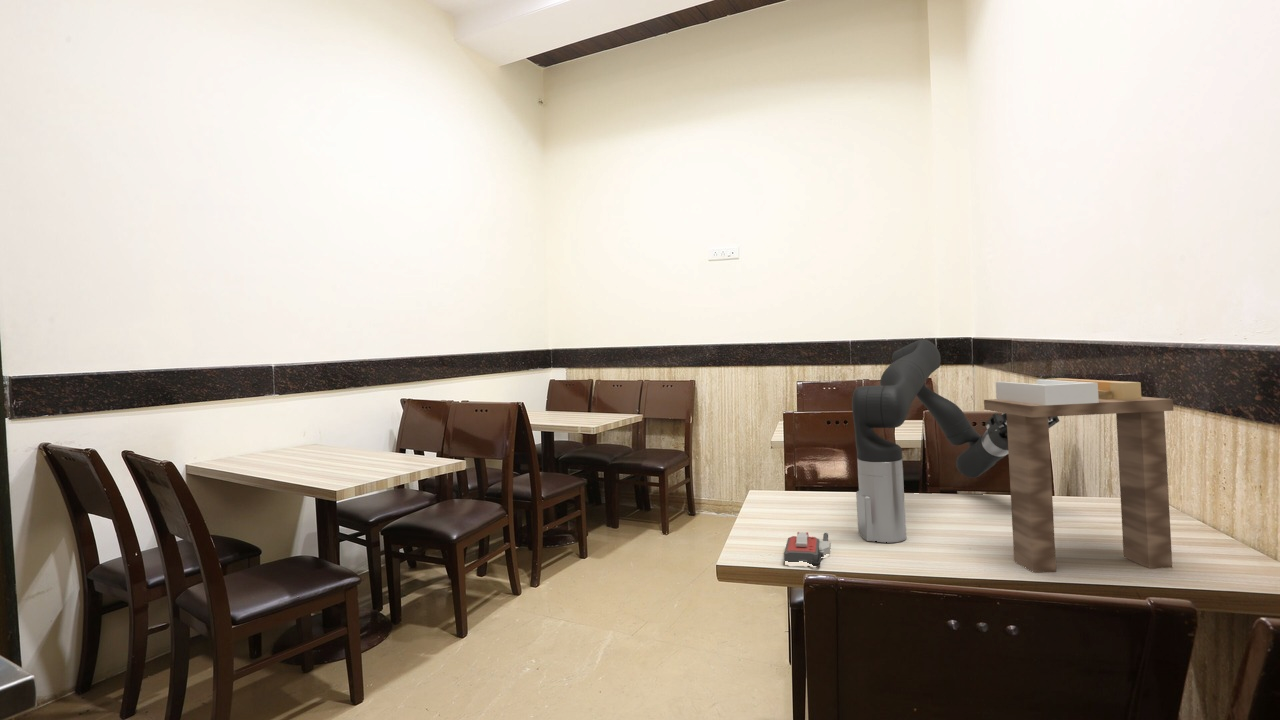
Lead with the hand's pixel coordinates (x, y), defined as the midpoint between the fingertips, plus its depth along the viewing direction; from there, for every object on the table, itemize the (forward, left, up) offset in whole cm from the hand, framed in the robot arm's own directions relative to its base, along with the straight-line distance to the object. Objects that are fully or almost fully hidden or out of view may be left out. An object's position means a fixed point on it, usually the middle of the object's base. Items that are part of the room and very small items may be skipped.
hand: (1036, 408), depth 137 cm
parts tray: (-12, -23, +4) cm, 26 cm away
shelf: (-7, -23, -26) cm, 35 cm away
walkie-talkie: (-55, -13, -27) cm, 63 cm away
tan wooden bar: (0, -17, +4) cm, 18 cm away
